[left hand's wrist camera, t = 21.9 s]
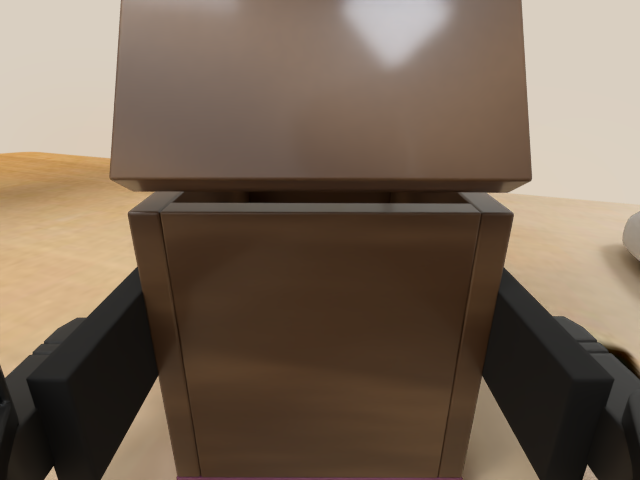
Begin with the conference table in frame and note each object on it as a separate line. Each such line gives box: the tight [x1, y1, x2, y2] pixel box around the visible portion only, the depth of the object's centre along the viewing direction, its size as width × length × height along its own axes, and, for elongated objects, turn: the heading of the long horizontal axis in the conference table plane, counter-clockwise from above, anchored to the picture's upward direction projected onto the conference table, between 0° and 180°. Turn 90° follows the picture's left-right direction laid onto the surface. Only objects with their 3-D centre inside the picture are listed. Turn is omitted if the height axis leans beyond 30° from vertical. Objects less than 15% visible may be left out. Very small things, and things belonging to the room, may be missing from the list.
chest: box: [128, 192, 514, 480], centre depth 17 cm, size 13×9×10 cm
